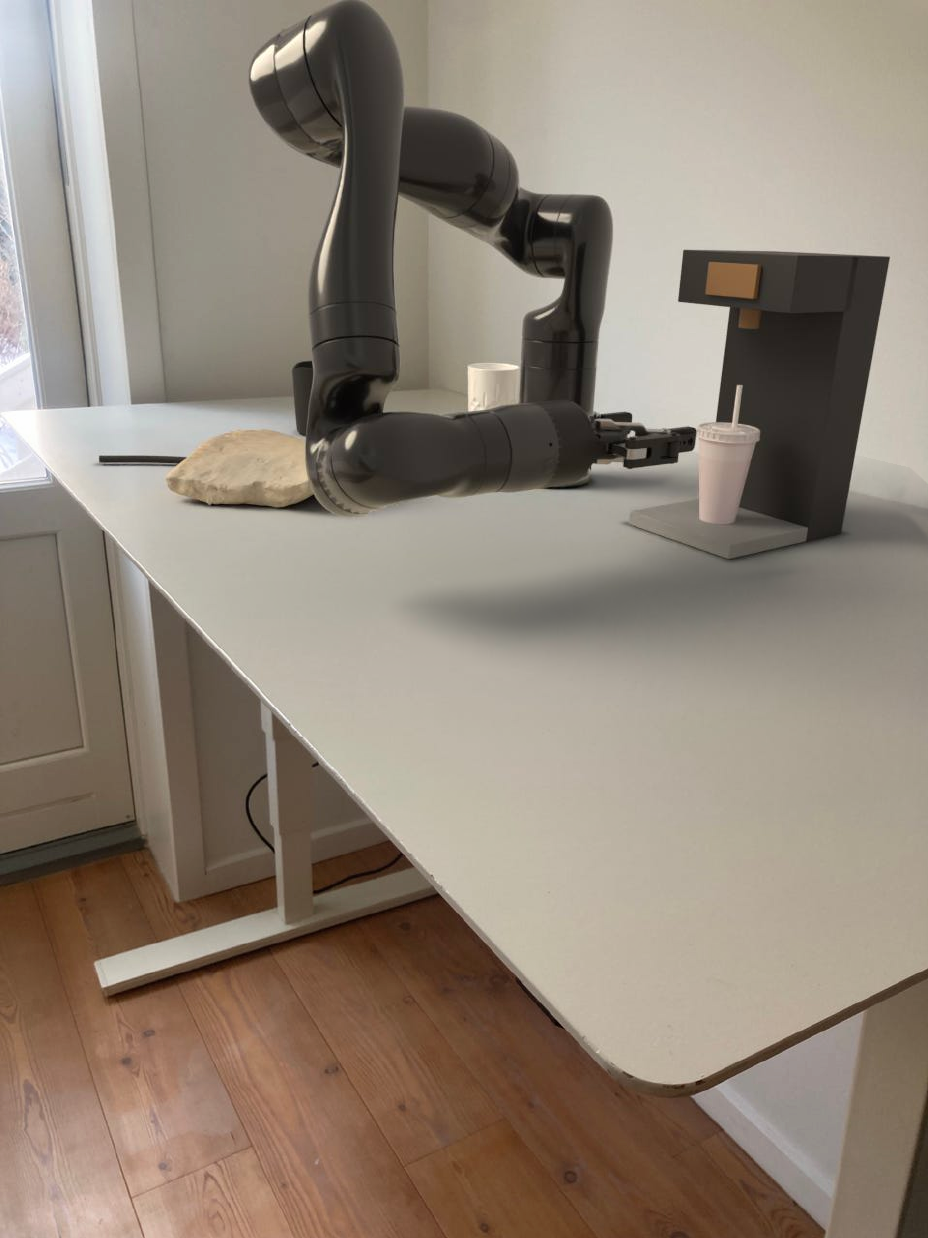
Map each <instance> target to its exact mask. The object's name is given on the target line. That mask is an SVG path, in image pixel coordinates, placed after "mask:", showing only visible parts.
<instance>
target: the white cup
mask: <svg viewBox="0 0 928 1238" xmlns="http://www.w3.org/2000/svg"><path fill="white" fill-rule="evenodd" d="M520 371H521V366H519V365H516V364H510V363H500V362H499V363H498V362H478V363H470V364H467V408H468V409H467V412H468V411H479V410H487V409H491V408H495V407H498V406H503V405H510V404H518V390H519V382H520Z"/></svg>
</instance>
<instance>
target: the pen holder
mask: <svg viewBox="0 0 928 1238" xmlns="http://www.w3.org/2000/svg"><path fill="white" fill-rule="evenodd" d="M291 377H292V389H293V403H294V404H293V405H294V414H295V415H294V416H295V417H294V418H295V428H296V432H298V434H299V435H302V436H304V437H306V430H307V420H308V410H309V401H310V395H311V389H312V383H313V364H312V360H305V361H303V360H302V361H300V362H297V363H295V364H294V366H293V367H292V370H291Z"/></svg>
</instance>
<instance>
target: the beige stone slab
mask: <svg viewBox="0 0 928 1238" xmlns="http://www.w3.org/2000/svg"><path fill="white" fill-rule="evenodd" d="M305 441H306V439H304V438H300V437H298V436H293V435H291V434H286V433H283V432H280V431H277V430H273V429H265V428H264V429H263V428H261V429H237V430H235V431H232V430H230V431H229V432H228V433H227V432H226V433H223V434H218V435H216V436H212V437H211V438H209V439H207V440H206V441H203V442H201V443H200V444H198V446H197V447H195V449H194V450H193V451H192V452H191V453H190V455H188V456H186V457H187V458H186V459H184V460H183V461H182V462H180V463H179V464H176V465H175V466H174V467H173V468H172V469H171V470H170V471H169V472H168V474H167V475H166V477H165V480H166V485H167V487H168V489H169V490H170V491H172V492H173V493H175V494H176V495H179V496H184V497H188V498H192V499H195V500H198V501H201V502H202V503H203V502H204V503H206V504H207V505H208V506H211V505H212V504H214V505H221V504H223V505H241V504H245V505H256V506H265V507H266V506H267V507H272V508H284V507H287V506H291V505H294V504H298V503H300V502H302V501H305V500H306V499H308V498H311V497H312V496H313V495H314V493H313V491H312V489H311V486H310V483H309V480H308V476H307V471H306V464H305Z"/></svg>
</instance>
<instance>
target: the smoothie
mask: <svg viewBox="0 0 928 1238" xmlns="http://www.w3.org/2000/svg"><path fill="white" fill-rule="evenodd" d="M742 387H743V385H737V389H736V397H735V405H734V413H733V420H732V423H724V422H716V421H715V422H713V421H712V422H703V423H700V424H698V425H697V427H696V431H697V433H696V438H698V499H699V519H700V520H702V521H704V522H708V523H713V524H731V523H734V522H735V519H736V515H737V512H738V508H739V504H740V500H741V497H742V493H743V489H744V485H745V481H746V478H747V474H748V470H749V466H750V463H751V459H752V456H753V452H754V448H755V444H756V442H758V441H759V440H760V438H759V437H760V430H759V429H758V428H756V427H753V426H749V425H743V424H738V418H739V410H740V402H741V395H742Z"/></svg>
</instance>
